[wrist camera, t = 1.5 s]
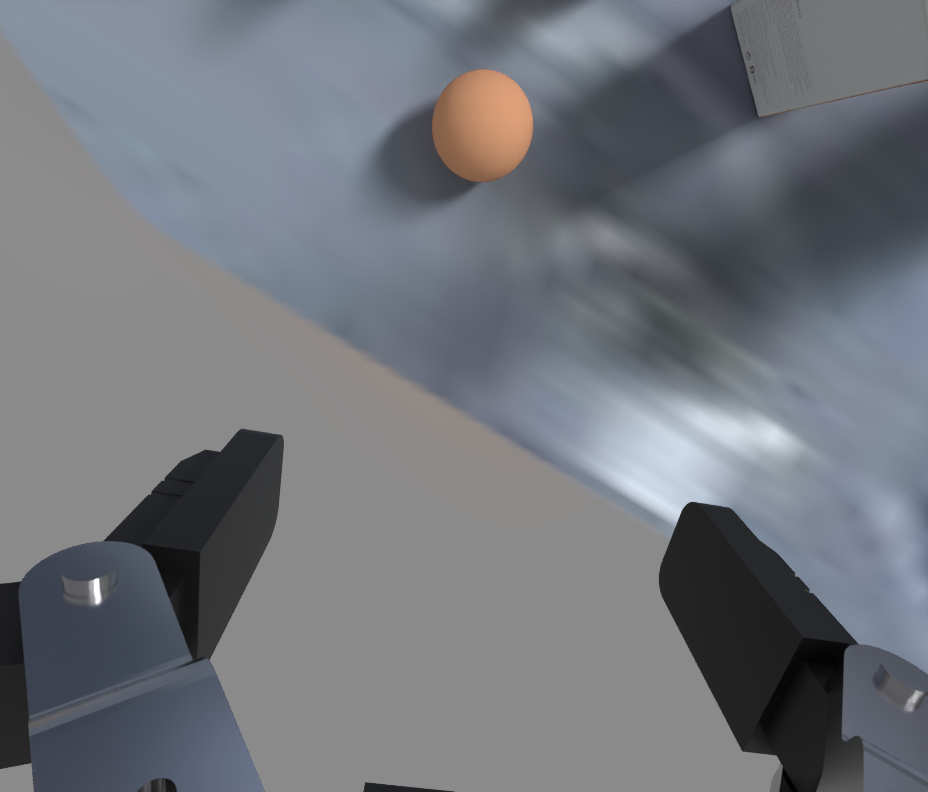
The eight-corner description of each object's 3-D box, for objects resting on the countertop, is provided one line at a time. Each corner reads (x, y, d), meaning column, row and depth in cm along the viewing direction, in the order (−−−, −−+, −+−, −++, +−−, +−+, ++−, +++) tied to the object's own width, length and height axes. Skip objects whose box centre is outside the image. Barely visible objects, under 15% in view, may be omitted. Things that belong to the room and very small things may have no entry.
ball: (535, 88, 32) (549, 70, 26) (517, 188, 34) (527, 190, 28) (441, 71, 31) (437, 49, 26) (428, 174, 33) (422, 172, 28)
